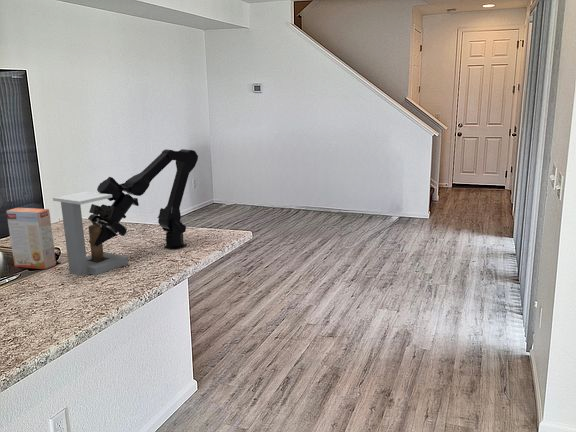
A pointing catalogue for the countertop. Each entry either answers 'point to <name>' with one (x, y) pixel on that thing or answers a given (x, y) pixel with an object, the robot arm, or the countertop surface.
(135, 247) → the countertop surface
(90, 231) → the walnut peg
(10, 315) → the countertop surface
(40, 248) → the cracker box
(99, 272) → the socket stand
